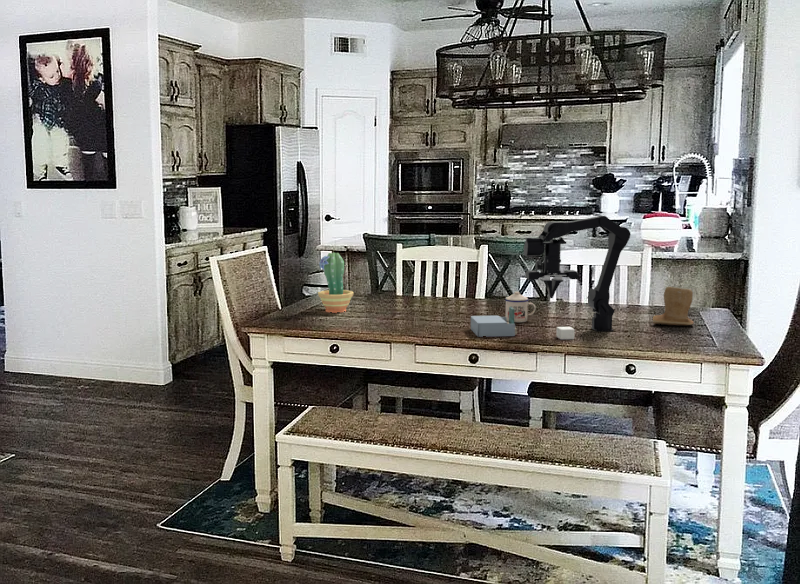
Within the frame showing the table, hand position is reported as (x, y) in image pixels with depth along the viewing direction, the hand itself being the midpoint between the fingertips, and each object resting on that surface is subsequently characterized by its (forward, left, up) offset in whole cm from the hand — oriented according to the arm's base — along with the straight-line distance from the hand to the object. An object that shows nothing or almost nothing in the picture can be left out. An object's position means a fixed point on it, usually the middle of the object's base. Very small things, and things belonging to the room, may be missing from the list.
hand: (551, 298), depth 290 cm
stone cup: (-51, -8, -13) cm, 53 cm away
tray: (+21, 0, -12) cm, 25 cm away
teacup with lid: (+6, -22, -13) cm, 26 cm away
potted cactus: (+79, -52, -13) cm, 95 cm away
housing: (+21, 0, -12) cm, 25 cm away
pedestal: (-2, +12, -12) cm, 17 cm away
